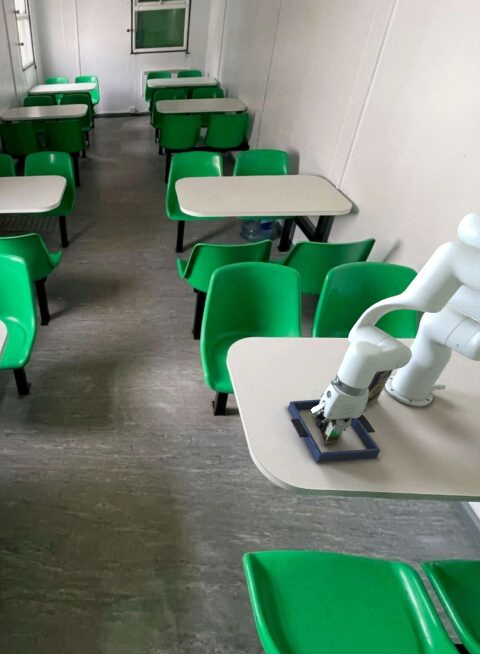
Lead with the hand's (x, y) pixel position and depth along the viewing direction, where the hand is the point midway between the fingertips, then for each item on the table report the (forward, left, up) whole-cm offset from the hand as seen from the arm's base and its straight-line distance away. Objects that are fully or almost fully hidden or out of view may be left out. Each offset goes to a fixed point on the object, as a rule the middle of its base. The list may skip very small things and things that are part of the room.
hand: (330, 427), depth 121 cm
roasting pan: (0, 0, -3) cm, 3 cm away
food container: (-1, 0, -3) cm, 3 cm away
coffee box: (-15, -11, -3) cm, 19 cm away
